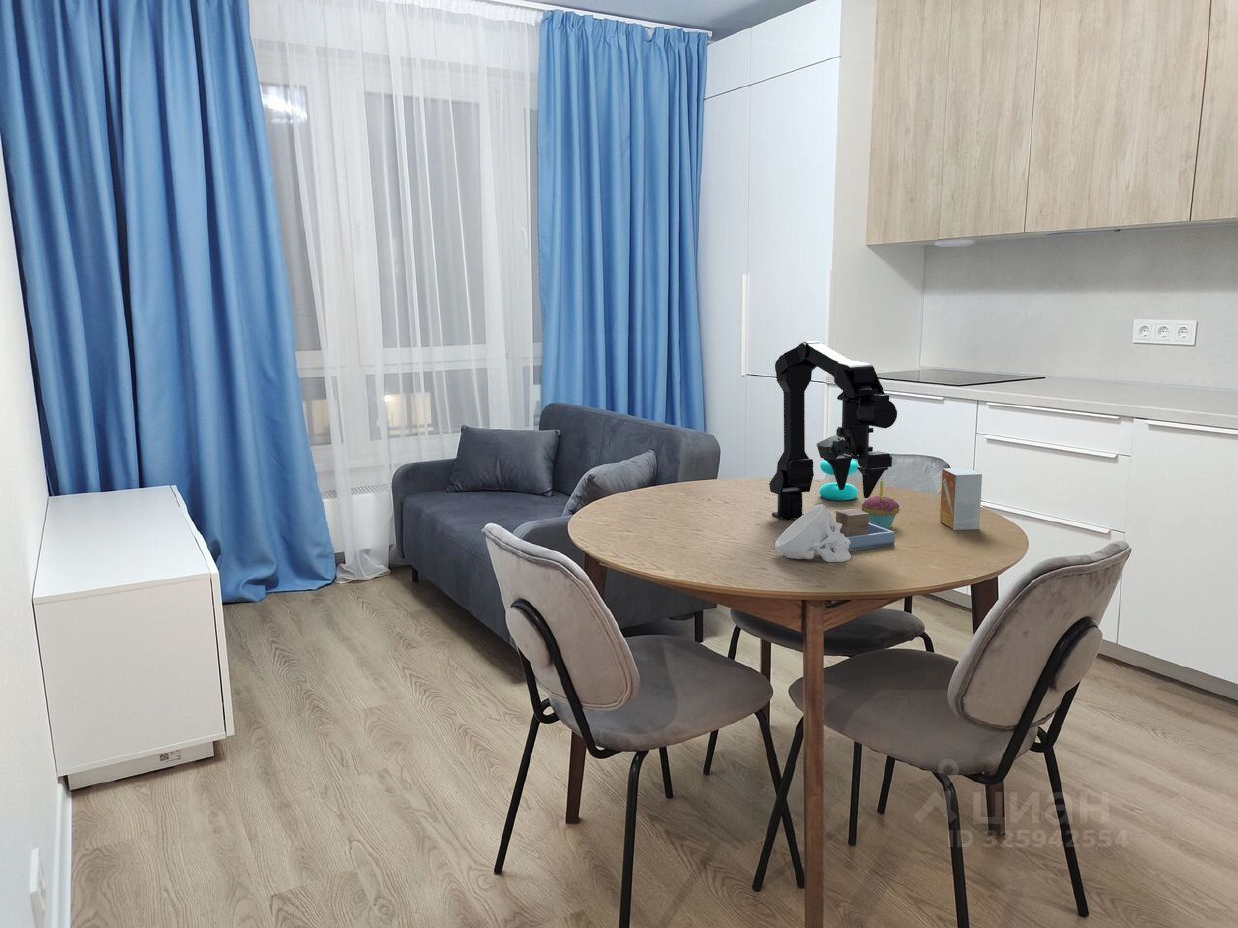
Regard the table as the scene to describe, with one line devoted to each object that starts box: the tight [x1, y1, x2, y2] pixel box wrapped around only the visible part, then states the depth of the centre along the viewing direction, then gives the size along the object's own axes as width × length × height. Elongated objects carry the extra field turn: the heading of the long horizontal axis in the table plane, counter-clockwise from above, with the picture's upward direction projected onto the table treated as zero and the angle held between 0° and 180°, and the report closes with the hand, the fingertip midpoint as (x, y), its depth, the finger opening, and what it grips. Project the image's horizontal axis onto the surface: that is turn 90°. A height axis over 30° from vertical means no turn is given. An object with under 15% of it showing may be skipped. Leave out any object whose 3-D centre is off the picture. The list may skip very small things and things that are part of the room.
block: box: [835, 508, 869, 537], centre depth 199 cm, size 5×5×6 cm
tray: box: [846, 523, 896, 552], centre depth 199 cm, size 12×14×3 cm
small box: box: [939, 467, 983, 531], centre depth 211 cm, size 8×6×13 cm
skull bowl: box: [774, 503, 852, 563], centre depth 188 cm, size 10×14×12 cm
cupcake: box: [861, 477, 900, 530], centre depth 211 cm, size 9×8×12 cm
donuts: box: [819, 459, 860, 502], centre depth 242 cm, size 10×10×10 cm
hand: (853, 493), depth 197 cm, fingers open, 9 cm apart
